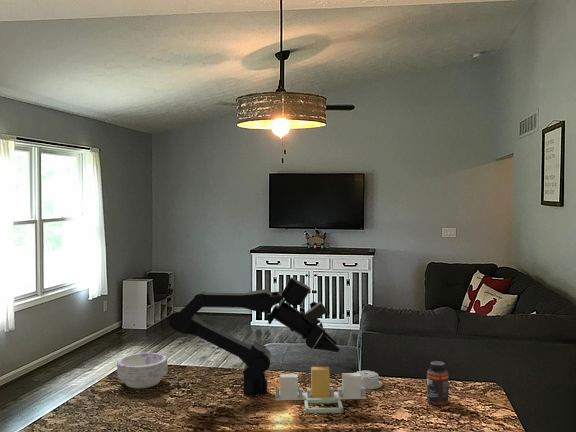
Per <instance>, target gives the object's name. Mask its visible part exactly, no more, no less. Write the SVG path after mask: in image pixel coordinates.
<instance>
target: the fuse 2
mask: <svg viewBox="0 0 576 432" xmlns="http://www.w3.org/2000/svg"><path fill="white" fill-rule="evenodd" d="M341 388H342V395H343V397H361V375H360V374H359V373H356V372H348V373H347V372H345V373H344V372H343V373H341Z"/></svg>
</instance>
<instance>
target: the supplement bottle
mask: <svg viewBox="0 0 576 432" xmlns="http://www.w3.org/2000/svg"><path fill="white" fill-rule="evenodd" d="M429 367H430V368H429V369H427V371H426V383H427V384H426V400H427V403H429V404H431V405H433V406H445V405H447V404H449V398H450V397H449V379H450V378H449V371H448V370H447V369H446V364H445V362H444V361H439V360H437V361H436V360H434V361H431V362H430V366H429Z"/></svg>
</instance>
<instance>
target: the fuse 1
mask: <svg viewBox="0 0 576 432" xmlns="http://www.w3.org/2000/svg"><path fill="white" fill-rule="evenodd" d="M279 376H280V377H279V382H280V384H279V393H280V398H298V393H299V376H298V373H280V374H279Z"/></svg>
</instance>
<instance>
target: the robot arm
mask: <svg viewBox="0 0 576 432" xmlns="http://www.w3.org/2000/svg"><path fill="white" fill-rule="evenodd" d="M311 290H312V289H311V288H310V286H308V285H307V284H305V283H304V282H302V281H300V280H298V279H295V278H293V277H290V278H289V279H288V283H287V285H285V287H284V288H283V290H281V291H271V290H270V289H267V288H265V289H258V290H253V291H249V292H206V291H199V292H198V293H196V295H194V297H193V298H192V300H191V301H189V302H188V303H187V305H185V306H184V307H179V308H177V309H176V310H175V311H174V312H173V313H172V314H171V315H170V316H169V319H168V323H169V324H168V325H169V328H171V330H172V331H174V332H178V333H181V334H184V335H189V336H196V337H197V338H200V339H201V340H204V341H206V342H207V343H210V344H212V345H214V346H216V347H218V348H220V349H222V350H224V351H226V352H228V353H230V354H231V355H234V356H235V357H236V358H237V357H238V359H240V360H241V362H243V364H245V366H244V369H243V371H242V374H243V395H248V396H255V397H256V396H260V395H265V394H268V378H267V377H266V371H268V370H269V368H270V365H271V362H272V353H271V351H270V349H268V348H267V345H265V344H264V345H263V344H261V343H259V342H258V341H257V340H253V343H252V344H250V343H245V342H244V341H242V340H239V339H237V338H235V337H234V336H232V335H230V334H227V333H226V332H223V331H222V330H219V329H217V328H216V327H214V326H212V325H209V324H208V323H206V322H204V321H203V320H202V319H201V318H200V317H199V316H198V315H197V313H198V312H199V310H201V309H202V308H205V307H207V308H208V307H209V308H242V309H247V310H249V311H253V312H259V313H266V315H265V316H266V318H267V322H268V325H271V324H272V323H273V321H274V320H275V321H276V322H278V323H280V324H282V325H283V326H285V327H286V328H288V329H289V331H291V332H292V333H293V332H294V333H295V334H297V335H299V336H300V337H301V339H303V340H304V341H305V345H306V346H307V347H308V348H310V349H313V350H321V351H328V352H335V353H339V351H340V350H341V349H340V347H338V346H337V344H338V343H337V341H336V340H334V338H333V337H332V336H331V335H330V334H328V333H327V331H326V330H325V328H324V326H323V323H322V322H321V320H320V319H319V318H320V317H321V316H323V315H326V313H327V312H328V309H327V308H326V307H325V305H324V304H323V303H322V302H321V301H318V302H316V301H312V302H311V303H309V306H310V308H309V309H308V310H307V311H306V312H305V311H302V310H298V309H297V308H295V307H298V306H301V305H302V304H303V303H304V301H305V299H307V297H308V295H309V294H310V292H311ZM278 304H279V305H278ZM269 311H271V312H269ZM267 312H269V313H267Z"/></svg>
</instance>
